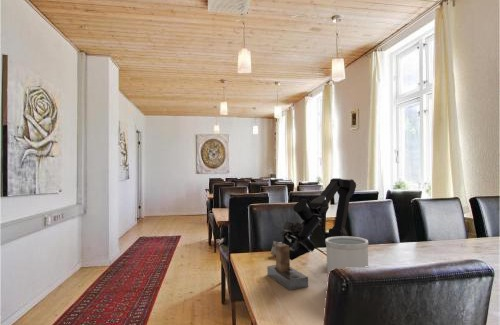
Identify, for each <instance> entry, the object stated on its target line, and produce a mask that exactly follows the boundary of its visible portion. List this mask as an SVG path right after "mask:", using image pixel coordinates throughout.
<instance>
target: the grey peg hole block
mask: <svg viewBox="0 0 500 325" xmlns="http://www.w3.org/2000/svg"><path fill="white" fill-rule="evenodd" d="M266 269H267V271H266V272H267V276H269V277H270V279H273V280H274V281H276V282H278V283H279V285H282V286H283V287H285V289H287V290H289V291H291V290H293V291H294V290H297V289H304V288H307V287H309V276H307V275H305V274H303V273H302V272H301V271H298V270H297V269H295V268H293V267H291V266H290V271H284V272H279V271H277V270H276V264H274V265H268V266H267V268H266Z"/></svg>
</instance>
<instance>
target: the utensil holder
mask: <svg viewBox="0 0 500 325" xmlns="http://www.w3.org/2000/svg"><path fill="white" fill-rule="evenodd" d="M324 242H325V246H326V248H325V249H326V268H327V276H328V275H329V272H330V271H331V270H332V269H335V268H346V267H365V266H368V267H369V240H368V239H367V238H365V237H364V238H363V237H357V236H349V235H348V236H337V237H329V238H328V237H327V238H325V240H324Z"/></svg>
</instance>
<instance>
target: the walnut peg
mask: <svg viewBox="0 0 500 325" xmlns="http://www.w3.org/2000/svg"><path fill="white" fill-rule="evenodd" d="M290 257H291V255H289V245H286V244H278V245H276V256H275V265H276V270H277V271H279V272H284V271H290V267H291V266H290V265H291V264H290V263H291V262H290V261H291V260H290Z"/></svg>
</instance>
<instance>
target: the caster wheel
mask: <svg viewBox="0 0 500 325" xmlns="http://www.w3.org/2000/svg"><path fill="white" fill-rule="evenodd" d="M278 244H282V241H279V242H278V241H275V240H273V242H272V246H271V251H270V255H273V256H275V257H276V245H278ZM294 250H295V248H293V247H292V246H291V247H290V248H289V256H291V255H292V253H293V251H294Z"/></svg>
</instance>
